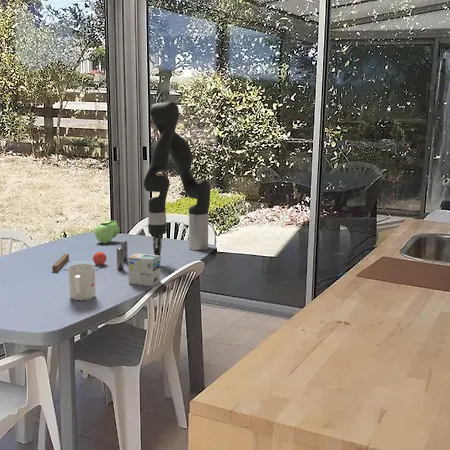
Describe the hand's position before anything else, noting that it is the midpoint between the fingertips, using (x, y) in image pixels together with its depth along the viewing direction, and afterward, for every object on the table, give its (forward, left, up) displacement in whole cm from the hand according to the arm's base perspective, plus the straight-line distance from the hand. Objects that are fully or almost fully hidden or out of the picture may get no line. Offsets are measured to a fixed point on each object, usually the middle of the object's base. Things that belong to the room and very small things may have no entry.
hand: (157, 262), depth 244 cm
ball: (+25, -1, +1) cm, 25 cm away
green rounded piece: (+28, -43, -2) cm, 51 cm away
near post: (+15, +6, -2) cm, 16 cm away
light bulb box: (+3, +25, -2) cm, 25 cm away
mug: (+23, +44, -2) cm, 50 cm away
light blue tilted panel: (+31, 0, -2) cm, 31 cm away
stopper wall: (+41, 0, -2) cm, 41 cm away
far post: (+15, -6, -2) cm, 16 cm away
